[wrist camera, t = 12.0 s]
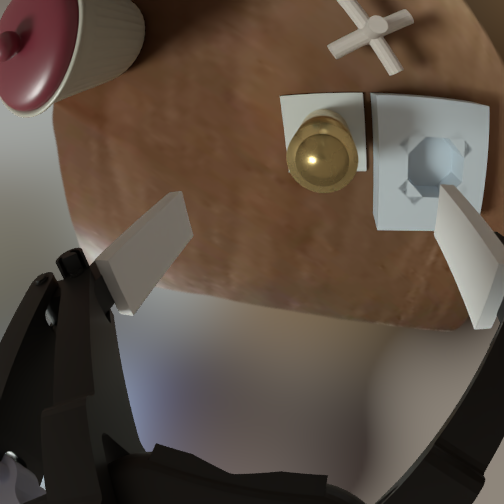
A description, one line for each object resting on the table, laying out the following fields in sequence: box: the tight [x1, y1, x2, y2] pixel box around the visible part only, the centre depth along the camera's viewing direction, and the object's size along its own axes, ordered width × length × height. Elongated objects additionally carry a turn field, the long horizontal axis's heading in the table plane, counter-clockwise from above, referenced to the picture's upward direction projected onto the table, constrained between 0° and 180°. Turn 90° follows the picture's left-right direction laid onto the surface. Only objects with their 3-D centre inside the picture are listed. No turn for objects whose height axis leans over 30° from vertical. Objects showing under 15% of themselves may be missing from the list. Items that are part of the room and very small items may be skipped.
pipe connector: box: [327, 0, 414, 76], centre depth 23 cm, size 10×10×10 cm
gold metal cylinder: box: [286, 109, 358, 193], centre depth 29 cm, size 6×6×14 cm
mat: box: [280, 93, 366, 172], centre depth 35 cm, size 10×10×1 cm
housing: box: [370, 93, 489, 231], centre depth 31 cm, size 16×14×5 cm
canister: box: [0, 0, 145, 118], centre depth 24 cm, size 18×18×21 cm
